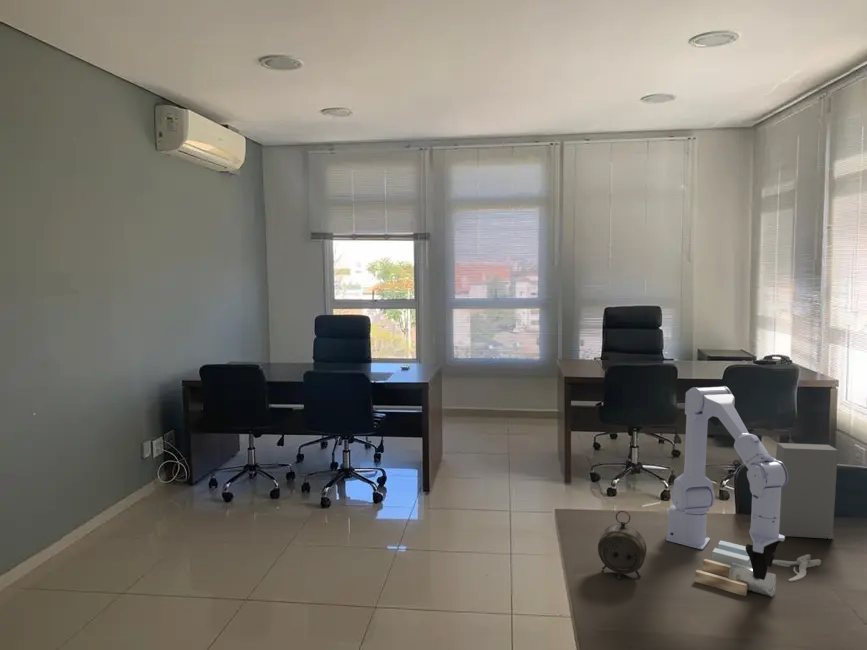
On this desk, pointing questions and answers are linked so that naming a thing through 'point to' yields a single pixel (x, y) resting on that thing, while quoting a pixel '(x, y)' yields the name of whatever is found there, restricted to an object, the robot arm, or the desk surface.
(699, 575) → the wooden rails
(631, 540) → the alarm clock
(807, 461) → the tall grey box
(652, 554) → the desk surface
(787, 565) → the pliers
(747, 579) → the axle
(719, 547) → the v block
